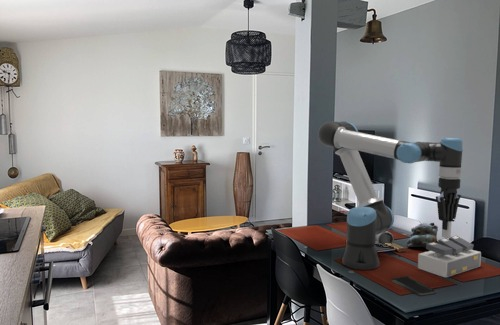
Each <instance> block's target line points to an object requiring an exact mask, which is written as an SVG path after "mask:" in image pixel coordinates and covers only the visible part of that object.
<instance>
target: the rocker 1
mask: <svg viewBox="0 0 500 325" xmlns="http://www.w3.org/2000/svg"><path fill="white" fill-rule="evenodd" d="M425 249H426V250H428V251H433V252H436V253H439V254H441V255H444V256H445V255H449V254H452V248H449V247H446V246H443V245H440V244H438V243H435V242H433V243H429V244H426V247H425Z"/></svg>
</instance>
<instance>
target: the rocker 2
mask: <svg viewBox="0 0 500 325" xmlns="http://www.w3.org/2000/svg"><path fill="white" fill-rule="evenodd" d="M437 241H438V244H440V245H443V246H446V247H449V248H452V253H454V254H457V253H461V252H462V251H463V247H461V246H459V245H458V244H456V243H454V242H452V241H450V240H449V238H444V237H443V238H440V239H437Z"/></svg>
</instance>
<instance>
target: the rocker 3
mask: <svg viewBox="0 0 500 325" xmlns="http://www.w3.org/2000/svg"><path fill="white" fill-rule="evenodd" d="M448 240H450V241H452V242H454V243H456V244H458V245H459V246H461V247H463V250H464V251H468V250H474V247H475V246H474V245H475V244H473V243H471V242H469V241H467V240H465V239H463V238H461V237H460V236H458V235H453V236H452V235H451V237H450V238H448Z"/></svg>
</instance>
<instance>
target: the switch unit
mask: <svg viewBox="0 0 500 325" xmlns="http://www.w3.org/2000/svg"><path fill="white" fill-rule="evenodd" d="M417 255H418V257H417V269H419V270H422V271H425V272H427V273H430V274H434V275H437V276H439V277H443V278H449V277H452V276H455V275H457V274H458V275H459V274H461V273H464V272H467V271H470V270H474V269H477V268H479V267H481V261H482V260H481V259H482V252H481V251H478V250H474V249H471V250H468V251H464V250H463V251H462V252H461V253H457V254H454V253H452V254H449V255H445V256H444V255H441V254H439V253H436V252H433V251H430V250H428V251H424V252H421V253H418V254H417Z"/></svg>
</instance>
